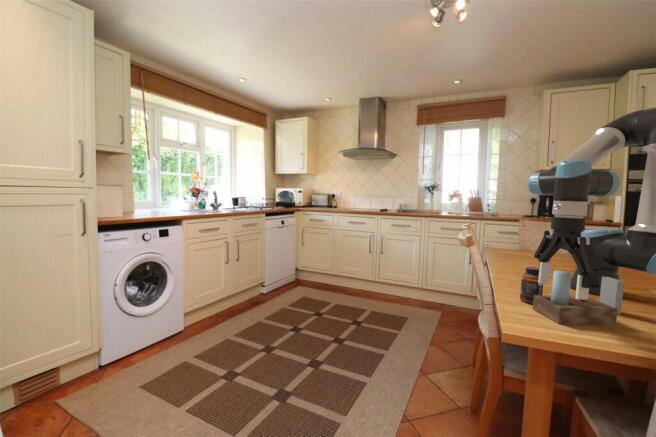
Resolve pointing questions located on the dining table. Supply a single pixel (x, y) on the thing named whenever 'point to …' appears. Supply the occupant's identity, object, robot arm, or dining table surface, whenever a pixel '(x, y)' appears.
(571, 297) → the socket block
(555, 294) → the dowel bit
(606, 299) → the grey rectangular block
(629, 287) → the dining table surface
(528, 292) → the supplement bottle
